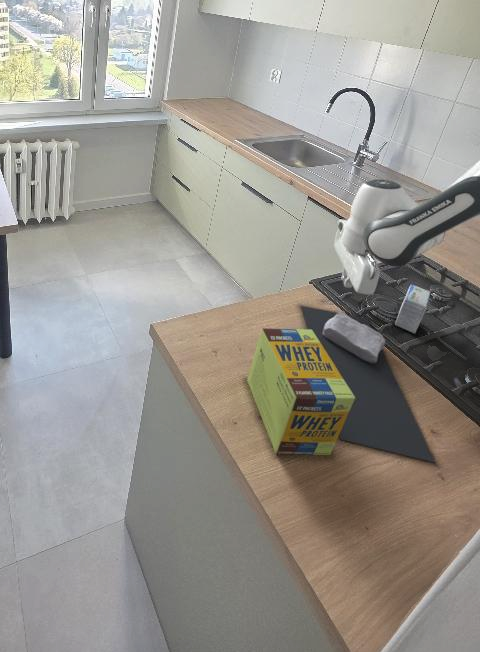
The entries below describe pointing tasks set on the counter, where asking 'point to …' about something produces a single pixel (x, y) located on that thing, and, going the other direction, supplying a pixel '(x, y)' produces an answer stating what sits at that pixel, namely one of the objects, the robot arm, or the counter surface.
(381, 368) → the mat
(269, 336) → the protein box
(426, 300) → the medicine box
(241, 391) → the counter surface
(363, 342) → the stone block
